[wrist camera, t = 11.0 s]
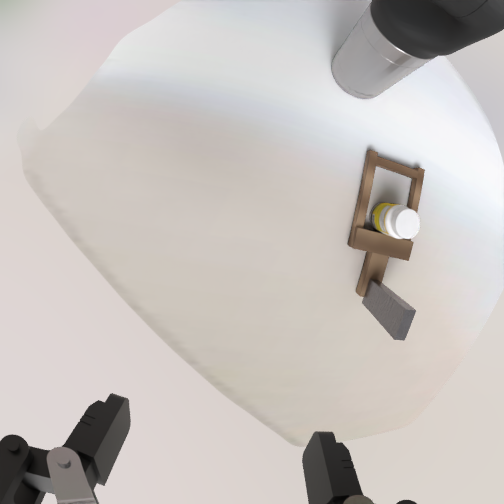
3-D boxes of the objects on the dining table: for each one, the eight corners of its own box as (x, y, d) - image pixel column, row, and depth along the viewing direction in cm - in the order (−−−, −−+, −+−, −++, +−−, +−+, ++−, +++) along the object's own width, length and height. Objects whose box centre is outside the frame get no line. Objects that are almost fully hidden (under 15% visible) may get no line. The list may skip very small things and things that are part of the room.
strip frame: (367, 151, 39) (413, 138, 25) (419, 170, 39) (475, 167, 26) (334, 294, 44) (364, 336, 30) (387, 302, 44) (428, 342, 30)
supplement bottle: (400, 214, 41) (428, 220, 33) (384, 238, 42) (410, 249, 34) (379, 195, 40) (405, 198, 32) (363, 220, 41) (387, 228, 33)
